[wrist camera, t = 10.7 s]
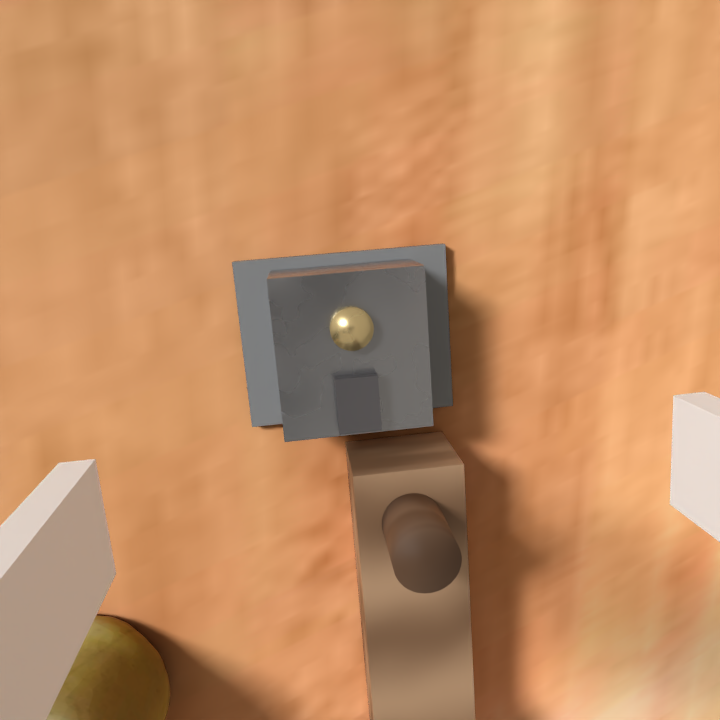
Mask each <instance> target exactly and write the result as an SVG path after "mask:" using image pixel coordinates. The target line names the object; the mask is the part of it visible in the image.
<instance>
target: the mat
mask: <svg viewBox="0 0 720 720" xmlns="http://www.w3.org/2000/svg"><path fill="white" fill-rule="evenodd" d="M397 259H411V260H413V261H416V262H418V263H420V264H423V265H425V279H426V297H427V315H428V334H429V352H430V370H431V388H432V407H433V408H437V407H447V406H453V396H452V375H451V354H450V333H449V312H448V291H447V270H446V249H445V244H433V245H421V246H410V247H398V248H386V249H375V250H363V251H351V252H339V253H328V254H316V255H304V256H293V257H281V258H269V259H257V260H246V261H234V262H232V266H233V274H234V282H235V290H236V298H237V307H238V315H239V323H240V331H241V339H242V348H243V356H244V364H245V372H246V380H247V389H248V397H249V405H250V413H251V421H252V427H257V426H266V425H276V424H283V422H282V413H281V404H280V395H279V386H278V377H277V368H276V359H275V350H274V341H273V332H272V323H271V314H270V305H269V296H268V286H267V277H268V275H269V272H270V271H271V270H282V269H294V268H305V267H317V266H328V265H340V264H351V263H363V262H374V261H386V260H397Z"/></svg>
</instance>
